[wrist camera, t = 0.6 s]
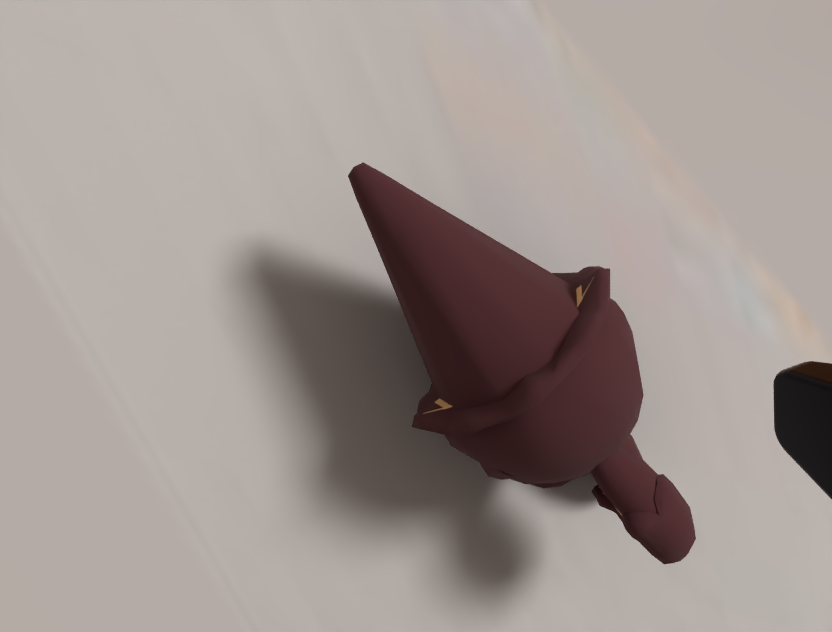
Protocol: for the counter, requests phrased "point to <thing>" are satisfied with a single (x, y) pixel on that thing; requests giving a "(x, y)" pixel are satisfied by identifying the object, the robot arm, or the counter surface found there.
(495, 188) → the counter surface
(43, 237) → the counter surface
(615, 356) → the maroon bulbous piece
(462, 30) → the counter surface
